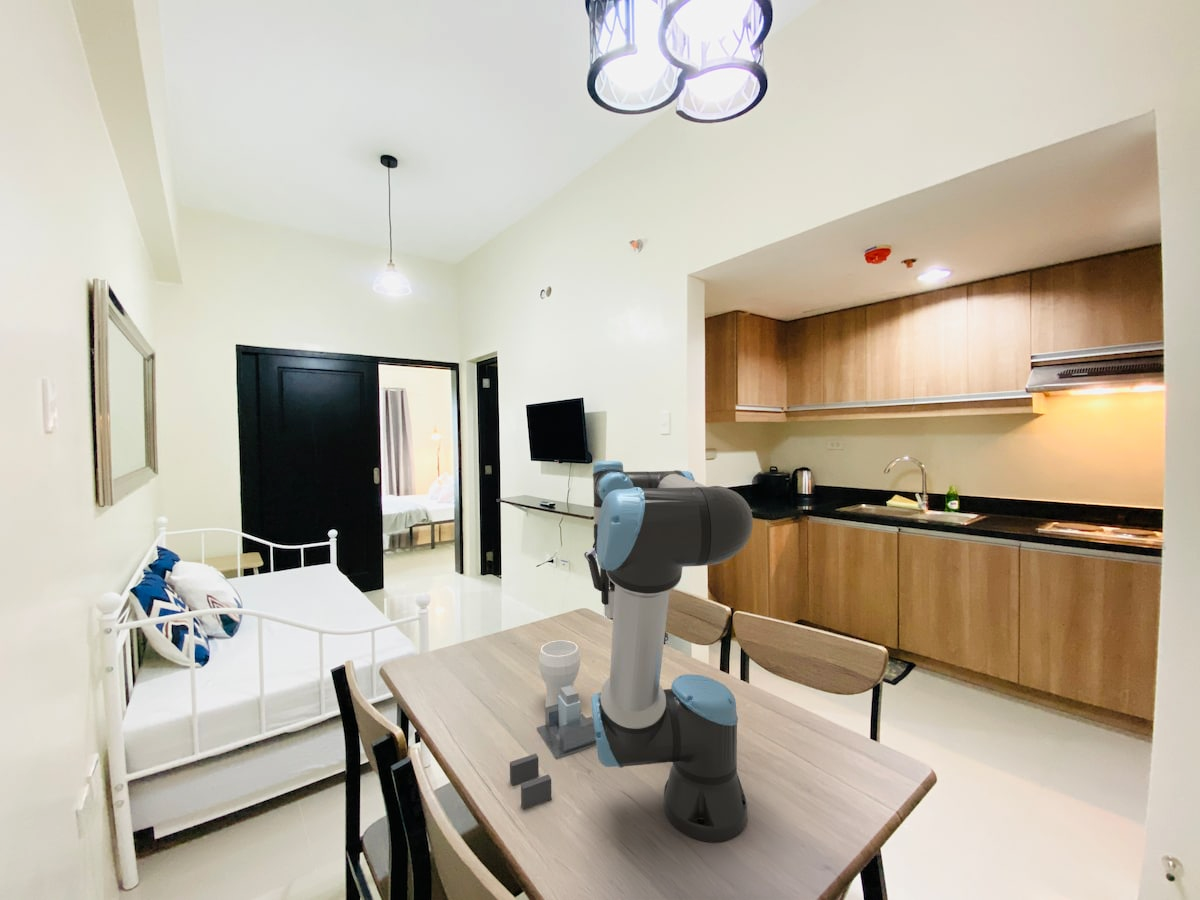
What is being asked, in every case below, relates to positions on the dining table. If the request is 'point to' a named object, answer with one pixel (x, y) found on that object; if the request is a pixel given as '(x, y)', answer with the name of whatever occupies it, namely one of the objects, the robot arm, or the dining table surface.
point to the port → (566, 734)
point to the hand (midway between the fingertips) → (609, 616)
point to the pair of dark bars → (533, 789)
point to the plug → (568, 706)
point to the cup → (558, 667)
